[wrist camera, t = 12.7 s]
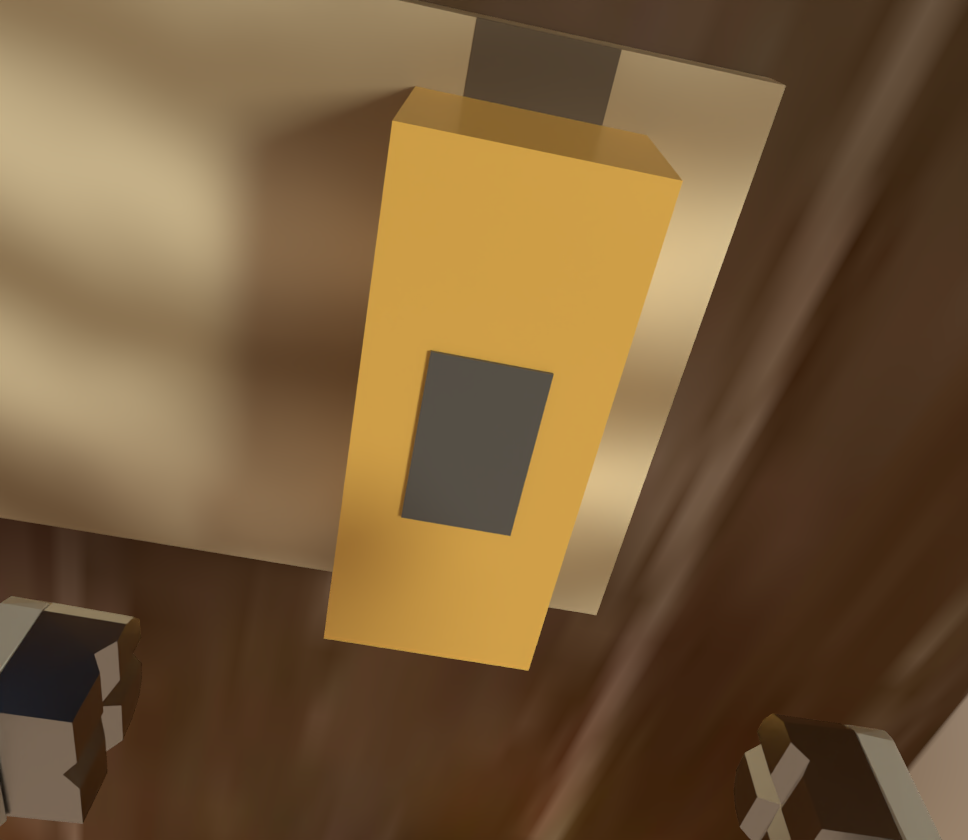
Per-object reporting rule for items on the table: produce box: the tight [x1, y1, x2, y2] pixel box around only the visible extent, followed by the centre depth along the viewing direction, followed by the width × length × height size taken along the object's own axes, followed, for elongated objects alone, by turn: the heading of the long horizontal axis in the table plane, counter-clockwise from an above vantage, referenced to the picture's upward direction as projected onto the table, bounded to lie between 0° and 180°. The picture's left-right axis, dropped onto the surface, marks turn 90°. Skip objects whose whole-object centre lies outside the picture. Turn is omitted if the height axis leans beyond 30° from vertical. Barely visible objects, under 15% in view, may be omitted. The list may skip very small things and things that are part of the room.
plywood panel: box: [0, 0, 786, 615], centre depth 20 cm, size 15×26×1 cm, turn 79°
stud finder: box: [324, 86, 683, 670], centre depth 18 cm, size 12×5×4 cm, turn 169°
